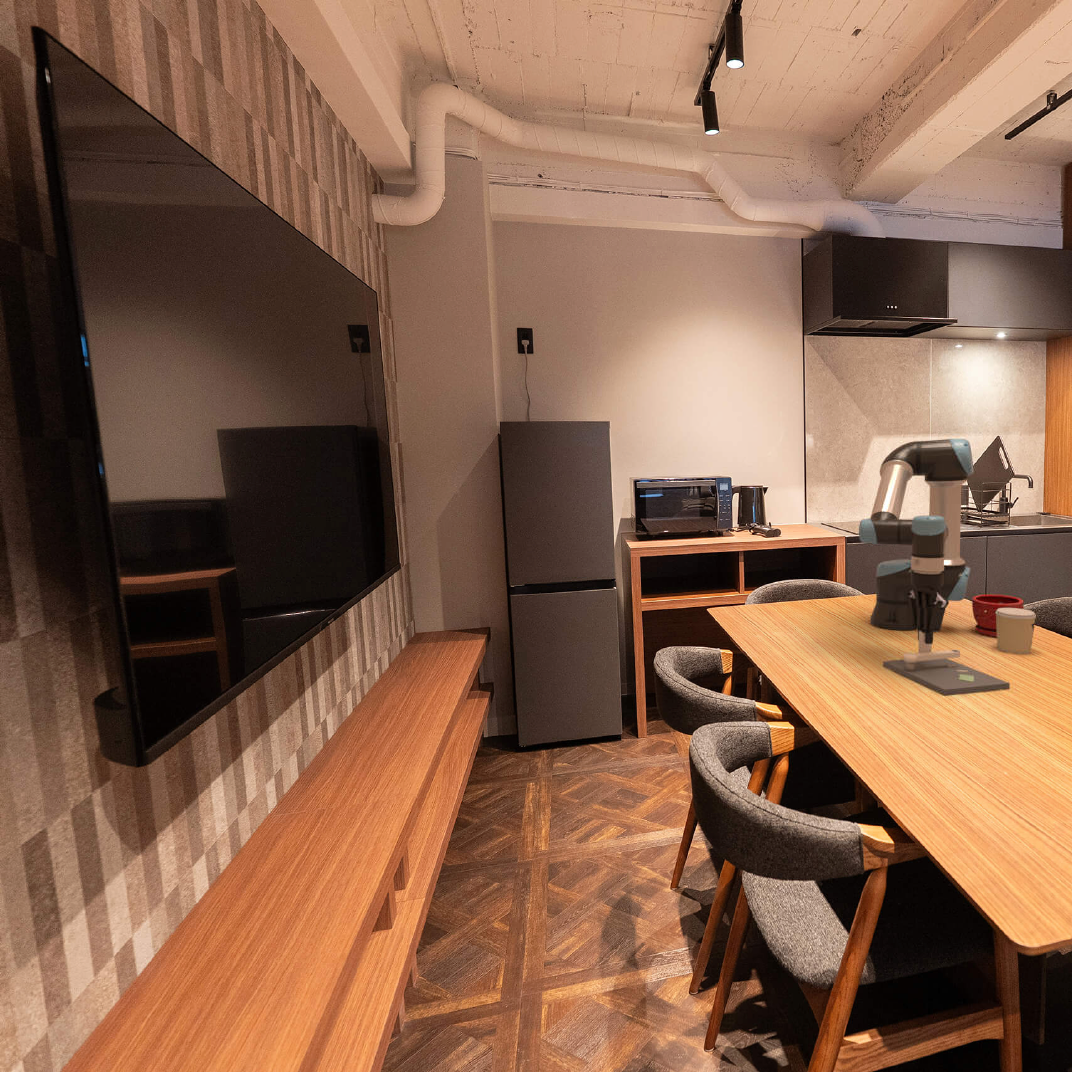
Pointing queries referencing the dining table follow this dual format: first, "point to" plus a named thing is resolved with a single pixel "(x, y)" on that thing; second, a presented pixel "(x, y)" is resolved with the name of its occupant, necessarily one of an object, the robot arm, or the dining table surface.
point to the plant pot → (991, 611)
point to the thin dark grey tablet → (946, 676)
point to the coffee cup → (1015, 630)
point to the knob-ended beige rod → (930, 655)
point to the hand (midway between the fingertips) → (924, 653)
